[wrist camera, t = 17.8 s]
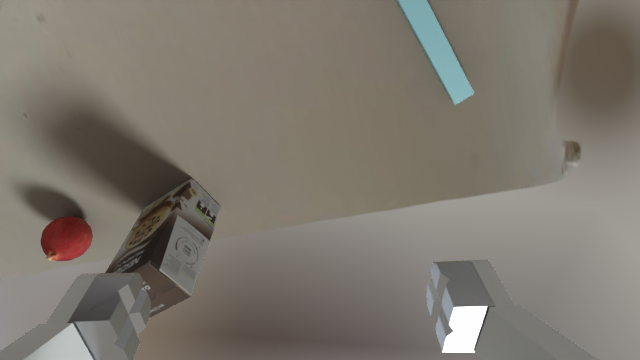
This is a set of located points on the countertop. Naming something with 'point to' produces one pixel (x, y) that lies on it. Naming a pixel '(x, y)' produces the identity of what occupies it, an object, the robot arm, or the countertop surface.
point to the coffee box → (169, 244)
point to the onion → (66, 238)
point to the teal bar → (436, 48)
